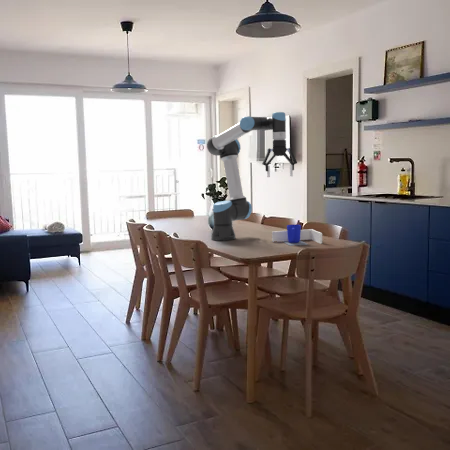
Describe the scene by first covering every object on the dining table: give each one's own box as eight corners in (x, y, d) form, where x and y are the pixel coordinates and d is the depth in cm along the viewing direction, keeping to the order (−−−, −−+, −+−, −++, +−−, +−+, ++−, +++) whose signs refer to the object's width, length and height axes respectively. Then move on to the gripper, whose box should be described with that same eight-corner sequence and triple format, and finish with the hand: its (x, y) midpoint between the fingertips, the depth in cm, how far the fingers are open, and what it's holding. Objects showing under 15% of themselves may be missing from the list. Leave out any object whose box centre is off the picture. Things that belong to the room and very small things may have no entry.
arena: (280, 246, 299) (279, 235, 299) (272, 241, 316) (271, 231, 315) (322, 243, 304) (322, 233, 303) (312, 238, 320) (312, 229, 320)
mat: (289, 245, 299) (289, 245, 299) (282, 241, 314) (282, 241, 314) (308, 244, 301) (308, 244, 301) (300, 240, 316) (300, 240, 316)
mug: (285, 244, 303) (285, 227, 301) (287, 241, 314) (287, 224, 313) (300, 244, 301) (300, 227, 300) (301, 241, 313) (301, 224, 311)
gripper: (259, 140, 298) (260, 177, 300) (302, 138, 302) (302, 176, 305) (256, 140, 305) (257, 177, 308) (298, 139, 309) (298, 175, 312)
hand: (279, 176), depth 306 cm, fingers open, 13 cm apart
